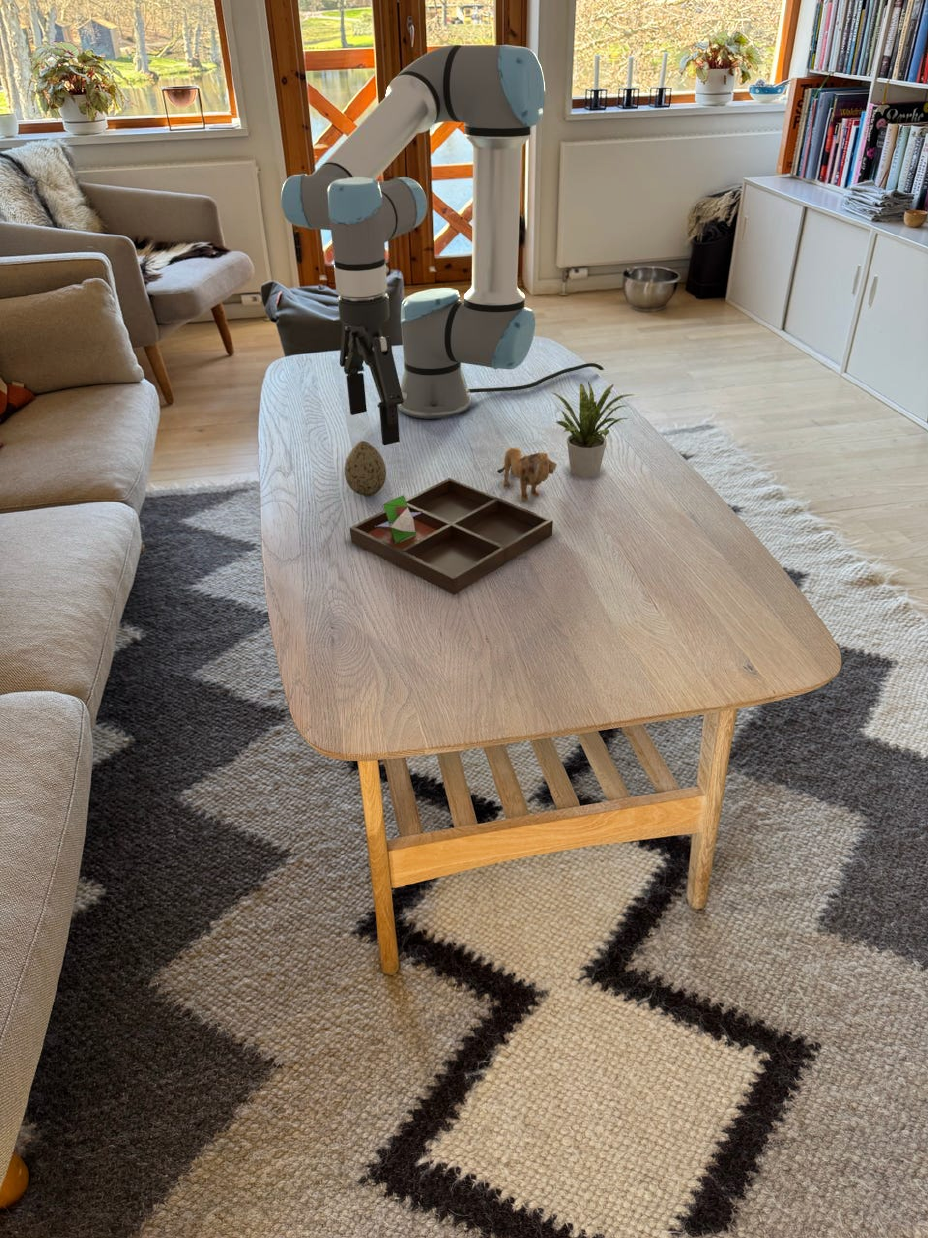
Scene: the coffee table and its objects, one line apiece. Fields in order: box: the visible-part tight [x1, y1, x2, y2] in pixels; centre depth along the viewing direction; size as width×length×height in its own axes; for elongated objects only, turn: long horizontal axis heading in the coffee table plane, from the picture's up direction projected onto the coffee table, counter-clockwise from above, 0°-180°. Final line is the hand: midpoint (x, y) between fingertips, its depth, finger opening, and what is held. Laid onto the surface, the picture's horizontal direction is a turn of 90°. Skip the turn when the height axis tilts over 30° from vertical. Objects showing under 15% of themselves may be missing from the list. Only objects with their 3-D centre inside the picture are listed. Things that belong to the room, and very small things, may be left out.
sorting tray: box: [349, 477, 554, 596], centre depth 152 cm, size 23×23×3 cm
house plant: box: [550, 381, 634, 479], centre depth 166 cm, size 14×14×16 cm
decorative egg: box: [344, 440, 387, 497], centre depth 163 cm, size 7×7×10 cm
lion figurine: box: [496, 446, 558, 502], centre depth 164 cm, size 15×5×9 cm, turn 34°
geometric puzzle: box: [375, 494, 424, 544], centre depth 150 cm, size 7×7×8 cm
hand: (374, 427), depth 152 cm, fingers open, 13 cm apart
